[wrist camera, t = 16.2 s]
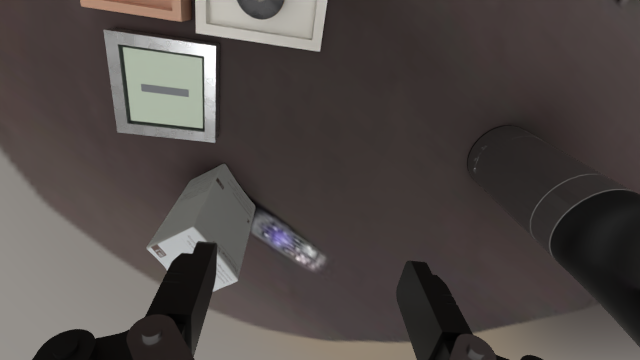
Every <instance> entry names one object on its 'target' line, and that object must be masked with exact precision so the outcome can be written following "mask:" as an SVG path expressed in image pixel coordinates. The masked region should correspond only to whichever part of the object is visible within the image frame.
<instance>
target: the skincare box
mask: <svg viewBox="0 0 640 360" xmlns="http://www.w3.org/2000/svg"><path fill="white" fill-rule="evenodd" d="M254 212H255V205H254V204H253V202H252V201H251V200H250V199H249V198H248V196H247V195H246V194H245V192H244V191H243V190H242V188H241V187H240V185H239V184H238V183H237V181H236V180H235V178H234V177H233V175H232V174H231V172H230V170H229V169H228V167H227V166H226V164H222V165H220V166H218V167H216V168H214V169H212V170H210V171H208V172H206V173H204V174H202V175H200V176H198V177H196V178H194V179H192V180H190V181H189V183H188V185H187V186H186V188H185V189H184V191H183V192H182V194H181V195H180V197H179V199H178V200H177V202H176V203H175V205H174V206H173V208H172V209H171V211H170V212H169V214H168V215H167V217H166V219H165V220H164V222H163V223H162V225H161V226H160V228H159V229H158V231H157V232H156V234H155V235H154V237H153V239H152V240H151V242H150V243H149V245H148V246H147V249H148V250H149V251H150V252H151V253H152V254H153V255H154V256H155V257H156V258H157V259H158V260H159V261H160V262H161V263H162V264H163V265H164V267H165V268H166V269H167V271H168V268H169V266H170V264H171V262H172V261H173V260H174V259H175V258H176V257H178V256H179V255H180V254H181V253H190V254H192V253H193V251H194V248H195V246H196V243H197V242H198V241H204V242H215V243H217V270H216V279H215V285H214V288H213V292H214V291H216V290H218V289H220V288H222V287H225V286H227V285H230V284H232V283H234V282H237V281H238V277H239V273H240V269H241V265H242V261H243V257H244V253H245V249H246V245H247V241H248V237H249V233H250V228H251V224H252V220H253V216H254Z"/></svg>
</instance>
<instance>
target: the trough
mask: <svg viewBox="0 0 640 360" xmlns="http://www.w3.org/2000/svg"><path fill="white" fill-rule="evenodd" d="M326 6H327V0H285V1H284V4H283V6H282V8H281V10H280V11H279V12H278V13H277V14H276V15H275V16H273V17H272V18H269V19H264V20H261V19H255V18H253V17H251V16H249V15H248V14H246V13H245V12H244V11H243V10H242V9H241V7H240V6H239V4H238V2H237V0H195V9H196V33H199V34H206V35H212V36H219V37H226V38H232V39H239V40H246V41H252V42H259V43H265V44H272V45H279V46H285V47H292V48H298V49H305V50H312V51H318V52H320V48H321V41H322V34H323V27H324V20H325V13H326Z"/></svg>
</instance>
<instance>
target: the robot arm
mask: <svg viewBox="0 0 640 360" xmlns="http://www.w3.org/2000/svg"><path fill="white" fill-rule="evenodd" d="M468 171H469V173H470V175H471V177H472V178H473V179H474V180H475V181H476V182H477V183H478V184H479V185H480V186H481V187H482V188H483V189H484V190H485V191H486V192H487V193H488V194H489V195H490V196H491V197H492V198H493V199H494V200H495V201H496V202H497V203H498V204H499V205H500V206H501V207H502V208H503V209H504V210H505V211H506V212H507V213H508V214H509V215H510V216H511V217H512V218H513V219H514V220H515V221H516V222H517V223H518V224H519V225H520V226H521V227H523V228H524V229H525V230H526V231H527V232H528V233H529V234H530V235H531V236H532V237H533V238H534V239H535V240H536V241H537V242H538V243H539V244H540V245H541V246H542V247H543V248H544V249H545V250H546V251H547V252H548V253H549V254H550V255H551V256H552V257H553V258H554V259H555V260H556V261H557V262H558V263H559V264H560V265H561V266H562V267H564V268H565V269H566V270H567V271H568V272H569V273H570V274H571V275H572V276H573V277H574V278H575V279H576V280H577V281H578V282H579V283H580V284H581V285H582V286H583V287H584V288H585V289H586V290H587V291H588V292H589V293H590V294H591V295H592V296H593V297H594V298H595V299H596V300H597V301H598V302H599V303H600V304H601V305H602V306H603V307H604V309H605V310H606V311H607V312H608V313H609V314H610V315H611V316H612V317H613V318H614V319H615V320H616V321H617V323H618V324H619V325H620V326H621V327H622V328H623V329H624V330H625V331H626V332H627V333H628V335H629V336H630V337H631V338H632V339H633V340H634V341H635V342H636V343H637V345H638V346H639V347H640V195H639V194H637V193H635V192H633V191H632V190H630V189H628V188H626V187H624V186H623V185H621V184H619V183H617V182H616V181H614V180H612V179H610V178H608V177H607V176H605V175H603V174H601V173H599V172H598V171H596V170H594V169H592V168H591V167H589V166H587V165H585V164H583V163H582V162H580V161H578V160H576V159H575V158H573V157H571V156H569V155H568V154H566V153H564V152H562V151H560V150H559V149H557V148H555V147H553V146H552V145H550V144H548V143H546V142H545V141H543V140H541V139H540V138H538V137H536V136H534V135H532V134H531V133H529V132H527V131H525V130H524V129H522V128H519V127H516V126H502V127H498V128H495V129H493V130H491V131H489V132H488V133H486V134H485V135H483V136H482V137H481V138H480V139H479V140H478V141H477V142H476V144H475V145H474V146H473V148H472V150H471V152H470V154H469V157H468ZM216 270H217V243H215V242H204V241H198V242H197V243H196V246H195V248H194V251H193V253H192V254H190V253H181V254H180V255H179V256H178V257H176V258H175V259H174V260H173V261H172V262H171V264H170V266H169V268H168V271H167V274H166V275H165V277H164V279H163V282H162V283H161V285H160V287H159V289H158V291H157V293H156V296H155V298H154V299H153V301H152V304H151V306H150V308H149V310H148V312H147V314H146V316H145V317H144V318H142V319H140V320H139V321H137V322H136V323H135V324H134V325H133V326H132V327H131V328H130V330H127V331H125V332H122V333H119V334H115V335H111V336H106V337H101V338H96V339H95V338H94V336H93V334H92V333H90V332H89V331H86V330H82V329H74V330H69V331H65V332H62V333H60V334H58V335H56V336H54V337H52V338H51V339H49V340H48V341H47V342H46V343H44V344H43V346H42V347H41V348H40V349H39V350H38V352H37V354H36V355H35V356H34V358H33V359H32V360H194V358H193V357H194V353H195V350H196V347H197V343H198V339H199V336H200V333H201V329H202V326H203V323H204V319H205V316H206V312H207V309H208V306H209V302H210V299H211V295H212V292H213V288H214V285H215V279H216ZM396 296H397V302H398V305H399V308H400V311H401V314H402V317H403V320H404V323H405V326H406V329H407V332H408V335H409V338H410V340H411V343H412V346H413V349H414V352H415V355H416V358H417V360H509V359H506V358H503V357H500V356H498V355H495V353H494V351H493V350H492V348H491V347H490V346H489V345H488V344H487V343H486V342H485V341H484V340H482V339H481V338H479V337H477V336H474V335H473V334H472V332H471V330H470V328H469V326H468V324H467V322H466V321H465V319H464V317H463V315H462V313H461V311H460V309H459V307H458V306H457V305H456V302H455V300H454V298H453V297H452V294H451V292H450V291H449V289H448V287H447V285H446V284H445V283H444V282H443V281H442V280H441V279H440V278H439V277H438V276H437V275H432V273H431V271H430V269H429V267H428V265H427V263H425V262H417V261H407V262H406V264H405V267H404V269H403V272H402V275H401V278H400V280H399V283H398V286H397V292H396ZM521 360H543V359H541V358H539V357H536V356H532V355H526V356H523V357H522V358H521Z"/></svg>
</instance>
